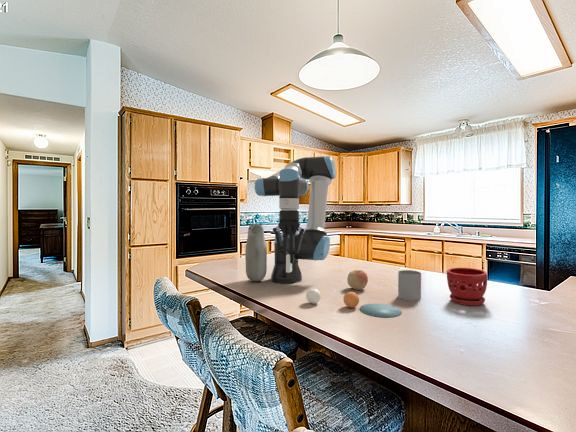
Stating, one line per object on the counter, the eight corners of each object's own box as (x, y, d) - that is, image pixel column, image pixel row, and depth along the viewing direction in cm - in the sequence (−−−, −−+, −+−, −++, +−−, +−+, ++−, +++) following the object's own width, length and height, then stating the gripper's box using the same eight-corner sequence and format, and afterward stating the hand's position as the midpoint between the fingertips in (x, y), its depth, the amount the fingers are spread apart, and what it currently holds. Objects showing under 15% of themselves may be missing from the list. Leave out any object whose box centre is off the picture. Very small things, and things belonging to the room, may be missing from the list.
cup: (422, 301, 120) (423, 275, 120) (400, 299, 122) (400, 274, 122) (418, 295, 129) (418, 270, 128) (397, 294, 130) (397, 269, 130)
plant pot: (450, 295, 128) (451, 265, 128) (489, 301, 120) (489, 269, 119) (442, 303, 118) (443, 271, 117) (483, 310, 109) (484, 275, 109)
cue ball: (303, 302, 119) (303, 288, 119) (315, 300, 122) (315, 286, 122) (311, 306, 114) (311, 291, 114) (323, 304, 117) (323, 289, 117)
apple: (366, 286, 142) (366, 269, 142) (369, 292, 133) (369, 273, 133) (346, 286, 143) (346, 268, 143) (348, 291, 134) (348, 272, 134)
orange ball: (340, 306, 114) (340, 291, 114) (351, 304, 117) (351, 289, 117) (350, 310, 110) (350, 295, 109) (362, 308, 112) (362, 292, 112)
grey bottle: (243, 280, 156) (242, 223, 155) (262, 278, 160) (262, 222, 159) (249, 284, 147) (248, 224, 146) (269, 282, 151) (269, 223, 150)
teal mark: (351, 308, 112) (351, 307, 112) (379, 301, 119) (379, 301, 119) (380, 320, 100) (380, 319, 100) (410, 312, 107) (410, 312, 107)
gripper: (269, 209, 119) (269, 272, 119) (302, 209, 114) (302, 274, 115) (276, 209, 126) (276, 268, 126) (308, 209, 122) (308, 271, 122)
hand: (289, 271), depth 121 cm, fingers closed
